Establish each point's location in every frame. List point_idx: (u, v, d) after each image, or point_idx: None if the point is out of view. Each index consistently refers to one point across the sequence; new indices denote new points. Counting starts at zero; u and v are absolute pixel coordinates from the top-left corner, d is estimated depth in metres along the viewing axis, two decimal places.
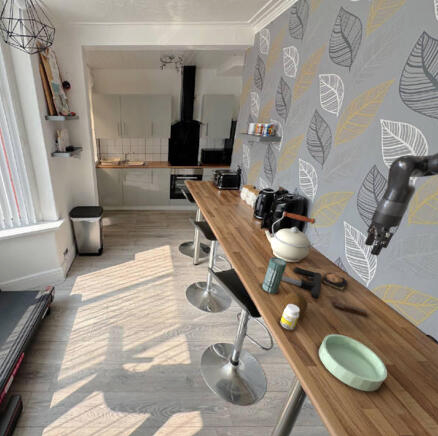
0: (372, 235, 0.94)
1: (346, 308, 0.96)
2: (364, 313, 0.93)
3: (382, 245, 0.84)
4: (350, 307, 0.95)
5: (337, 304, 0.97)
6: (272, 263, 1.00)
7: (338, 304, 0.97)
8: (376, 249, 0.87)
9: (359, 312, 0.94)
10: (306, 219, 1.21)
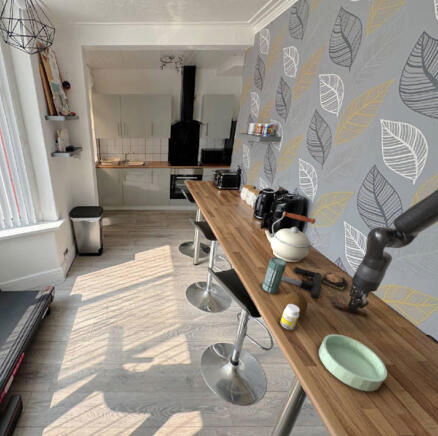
0: None
1: (346, 308, 0.96)
2: (364, 313, 0.93)
3: (358, 306, 0.91)
4: None
5: (337, 304, 0.97)
6: (272, 263, 1.00)
7: (338, 304, 0.97)
8: (353, 308, 0.93)
9: (359, 312, 0.94)
10: (306, 219, 1.21)
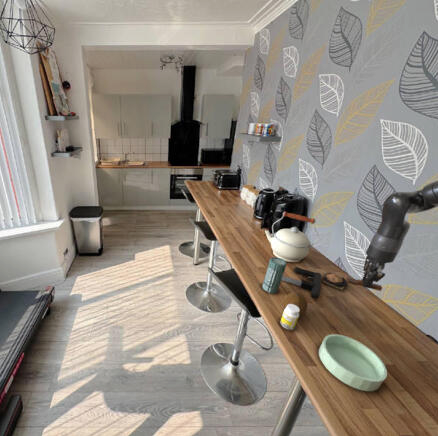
0: None
1: (360, 283, 0.90)
2: (379, 288, 0.88)
3: (373, 279, 0.85)
4: None
5: (350, 279, 0.92)
6: (272, 263, 1.00)
7: (351, 279, 0.92)
8: (367, 282, 0.88)
9: (374, 287, 0.88)
10: (306, 219, 1.21)
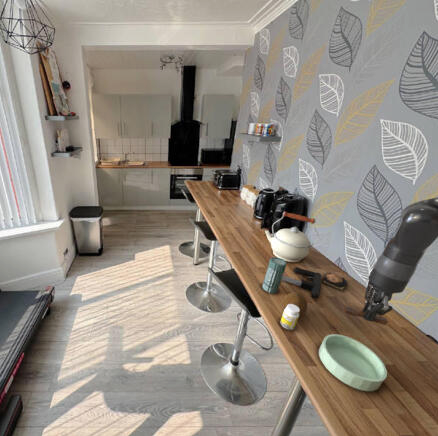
0: None
1: (360, 314, 0.73)
2: (384, 321, 0.70)
3: (376, 312, 0.68)
4: None
5: (348, 309, 0.75)
6: (272, 263, 1.00)
7: (349, 309, 0.75)
8: (369, 314, 0.70)
9: (377, 320, 0.71)
10: (306, 219, 1.21)
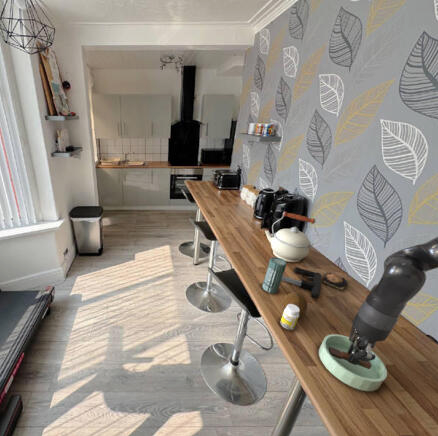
0: None
1: (344, 357, 0.73)
2: (368, 365, 0.70)
3: (360, 358, 0.68)
4: None
5: (333, 351, 0.74)
6: (272, 263, 1.00)
7: (334, 351, 0.74)
8: (354, 359, 0.70)
9: (361, 364, 0.71)
10: (306, 219, 1.21)
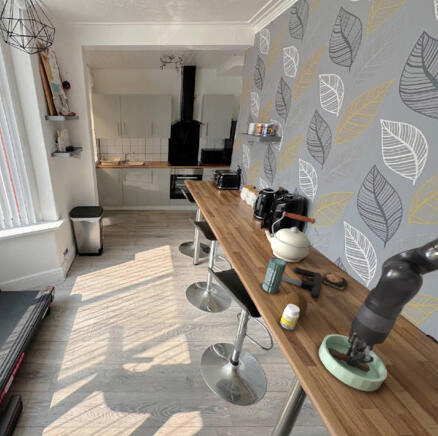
0: None
1: (344, 359, 0.73)
2: (367, 369, 0.71)
3: (359, 360, 0.68)
4: None
5: (333, 352, 0.75)
6: (272, 263, 1.00)
7: (334, 352, 0.75)
8: (352, 361, 0.71)
9: (360, 366, 0.72)
10: (306, 219, 1.21)
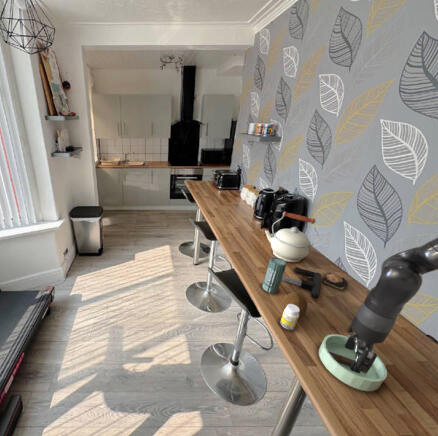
0: (353, 338, 0.75)
1: (342, 361, 0.74)
2: (365, 369, 0.71)
3: (363, 366, 0.65)
4: (347, 360, 0.73)
5: None
6: (272, 263, 1.00)
7: (332, 355, 0.75)
8: (356, 367, 0.68)
9: None
10: (306, 219, 1.21)
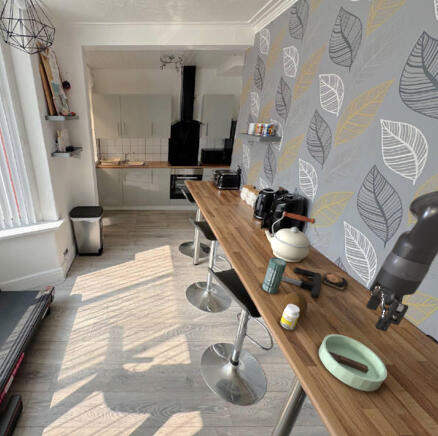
0: (377, 297, 0.68)
1: (342, 361, 0.74)
2: (365, 369, 0.71)
3: (392, 321, 0.58)
4: (347, 360, 0.73)
5: None
6: (272, 263, 1.00)
7: (332, 355, 0.75)
8: (383, 323, 0.61)
9: (359, 368, 0.72)
10: (306, 219, 1.21)
